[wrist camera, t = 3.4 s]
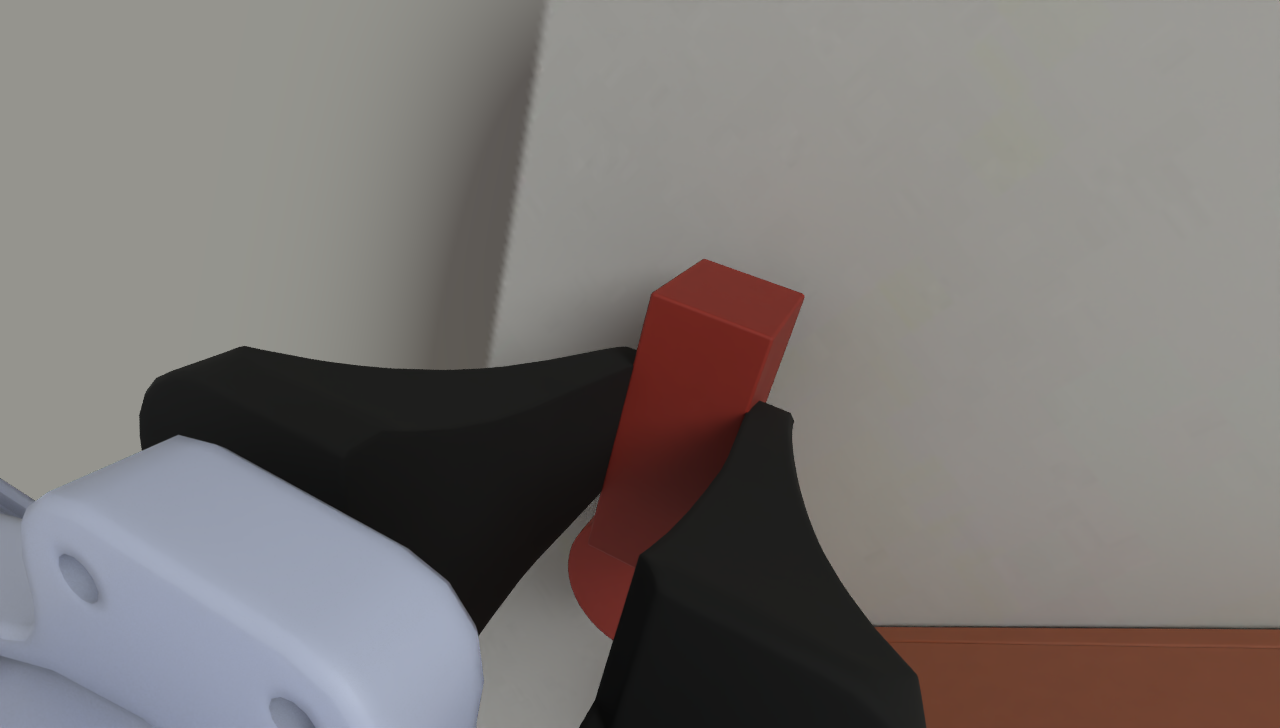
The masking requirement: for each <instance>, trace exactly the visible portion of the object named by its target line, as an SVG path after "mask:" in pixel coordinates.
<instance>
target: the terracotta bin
mask: <svg viewBox="0 0 1280 728" xmlns="http://www.w3.org/2000/svg"><path fill="white" fill-rule="evenodd" d="M874 628H875V629H876V630H877V631H878V632H879V633H880V634H881V635H882V636H883V638H884V639H885V640H886V641H887V642H888V643H889V644H890V645H891V646H892V647H893V649H894V650H895V651H896V652H897V653H898V654H899V655H900V656H901V657H902V658H903V660H904V661H905V662H906V663H907V664H908V665H909V666H910V667H911V668H912V669H913V671H914V672H915V673H916V674H917V676H918V679H919V684H920V689H921V695H922V702H923V708H924V715H925V722H926V728H1280V629H1170V628H1006V627H874Z"/></svg>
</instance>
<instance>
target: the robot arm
mask: <svg viewBox="0 0 1280 728" xmlns="http://www.w3.org/2000/svg"><path fill="white" fill-rule="evenodd" d="M636 352H637V350H634V349H632V348H629V347H616V348H609V349H604V350H598V351H593V352H588V353H583V354H578V355H573V356H567V357H562V358H557V359H552V360H546V361H539V362H532V363H525V364H518V365H511V366H504V367H494V368H482V369H463V370H423V369H391V368H379V367H368V366H358V365H350V364H342V363H334V362H326V361H320V360H314V359H308V358H303V357H297V356H292V355H286V354H282V353H276V352H271V351H266V350H260V349H256V348H251V347H247V346H243V347H238V348H235V349H233V350H230V351H227V352H225V353H222V354H219V355H216V356H213V357H210V358H208V359H205V360H202V361H199V362H196V363H194V364H191V365H188V366H185V367H182V368H179V369H176V370H173V371H171V372H169V373H166V374H164V375H162V376H160V377H158V378H156V379H155V380H154V382H153V383H152V384H151V386H150V387H149V388H148V389H147V391H146V393H145V396H144V400H143V404H142V407H141V411H140V415H139V416H140V417H139V418H140V440H141V448H142V451H140V452H138V453H136V454H133V455H131V456H129V457H127V458H124V459H122V460H120V461H118V462H115V463H113V464H111V465H108V466H106V467H104V468H101V469H99V470H97V471H95V472H92V473H90V474H88V475H86V476H83V477H81V478H79V479H77V480H74V481H72V482H70V483H67V484H65V485H63V486H61V487H58V488H56V489H54V490H51V491H49V492H47V493H46V494H44V495H43V496H42V497H40V498H39V499H38V500H36V501H35V500H33V499H32V498H30V497H29V496H27V495H26V494H24V493H22V492H21V491H19V490H18V489H16V488H15V487H13V486H12V485H10V484H8V483H7V482H5V481H4V480H2V479H1V478H0V728H476V721H477V716H478V711H479V705H480V700H481V694H482V689H483V684H484V677H483V669H482V661H481V653H480V646H479V638H478V636H479V634H480V633H481V632H482V630H483V629H484V627H485V626H486V625H487V623H488V622H489V620H490V619H491V618H492V616H493V615H494V614H495V612H496V611H497V610H498V608H499V607H500V606H501V604H502V603H503V602H504V600H505V599H506V598H507V596H508V595H509V594H510V592H511V591H512V590H513V588H514V587H515V586H516V584H517V583H518V582H519V580H520V579H521V578H522V577H523V575H524V574H525V573H526V572H527V571H528V570H529V568H530V567H531V566H532V565H533V564H534V563H535V562H536V560H537V559H538V558H539V557H540V556H541V555H542V554H543V553H544V552H545V551H546V550H547V549H548V548H549V547H550V546H551V545H552V544H553V542H554V541H555V540H556V539H557V538H558V537H559V536H560V535H561V534H562V533H563V532H564V531H565V530H566V529H567V528H568V527H569V526H570V525H571V523H572V522H573V521H574V520H575V519H576V518H577V517H578V516H579V515H580V514H581V513H582V512H583V511H584V510H585V509H586V508H587V506H588V505H589V504H590V503H591V502H592V501H593V500H594V499H595V498H596V497H597V496H598V495H599V494H600V492H601V491H602V488H603V484H604V480H605V476H606V472H607V468H608V464H609V460H610V457H611V453H612V449H613V445H614V441H615V437H616V433H617V429H618V425H619V421H620V417H621V414H622V410H623V406H624V402H625V398H626V394H627V390H628V386H629V382H630V378H631V375H632V371H633V367H634V366H633V364H634V360H635V356H636ZM793 423H794V420H793V418H792V415H791V413H789V412H787V411H784V410H782V409H779V408H777V407H774V406H772V405H769V404H767V403H765V402H762V401H758V402H757V403H756V404H755V405H754V406H753V407H752V408H751V410H750V411H749V412H746V414H745V416H744V419H743V421H742V424H741V426H740V428H739V431H738V433H737V436H736V438H735V441H734V443H733V445H732V448H731V450H730V453H729V455H728V457H727V459H726V461H725V463H724V465H723V467H722V469H721V470H720V472H719V473H718V474H717V476H716V477H715V478H714V480H713V481H712V482H711V484H710V485H709V486H708V488H707V489H706V490H705V492H704V493H703V494H702V495H701V496H700V498H699V499H698V500H697V501H696V502H695V504H694V505H693V506H692V507H691V509H690V510H689V511H688V512H687V513H686V514H685V515H684V516H683V517H682V518H681V519H680V520H679V521H678V522H677V523H676V524H675V526H674V527H673V528H672V529H671V530H670V531H669V532H667V533H666V534H665V535H664V536H663V537H661V538H660V539H659V540H658V541H657V542H656V543H654V544H653V545H652V546H651V547H650V548H648V549H647V550H645V551H644V552H643V553H641V554H640V555H639V558H638V561H637V564H636V568H635V571H634V574H633V577H632V581H631V584H630V587H629V590H628V594H627V597H626V600H625V604H624V607H623V610H622V613H621V617H620V620H619V623H618V627H617V630H616V633H615V636H614V640H613V643H612V646H611V650H610V653H609V656H608V659H607V663H606V666H605V669H604V673H603V676H602V679H601V682H600V686H599V689H598V692H597V695H596V699H595V701H594V703H593V704H592V706H591V708H590V710H589V711H588V713H587V715H586V716H585V718H584V720H583V722H582V723H581V725H580V727H579V728H926V722H925V715H924V708H923V702H922V695H921V689H920V684H919V679H918V676H917V674H916V673H915V672H914V671H913V669H912V668H911V667H910V666H909V665H908V664H907V663H906V662H905V661H904V660H903V658H902V657H901V656H900V655H899V654H898V653H897V652H896V651H895V650H894V649H893V647H892V646H891V645H890V644H889V643H888V642H887V641H886V640H885V639H884V638H883V636H882V635H881V634H880V633H879V632H878V631H877V630H876V629H875V628H874V626H873V625H872V624H871V623H870V621H869V620H868V619H867V617H866V616H865V615H864V613H863V612H862V611H861V609H860V608H859V607H858V605H857V604H856V603H855V601H854V600H853V599H852V597H851V596H850V595H849V593H848V592H847V590H846V589H845V587H844V586H843V584H842V583H841V581H840V580H839V578H838V576H837V575H836V573H835V571H834V569H833V568H832V566H831V564H830V563H829V561H828V559H827V558H826V556H825V554H824V552H823V550H822V548H821V546H820V544H819V542H818V539H817V537H816V535H815V532H814V530H813V528H812V525H811V522H810V520H809V517H808V514H807V511H806V508H805V505H804V501H803V498H802V494H801V491H800V487H799V483H798V478H797V473H796V467H795V462H794V455H793V444H792V428H793Z"/></svg>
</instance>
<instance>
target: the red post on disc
mask: <svg viewBox="0 0 1280 728" xmlns="http://www.w3.org/2000/svg"><path fill="white" fill-rule="evenodd" d="M803 300H804V295H803V294H802V293H799V292H796V291H794V290H791V289H788V288H785V287H782V286H779V285H777V284H774V283H771V282H768V281H765V280H763V279H760V278H757V277H754V276H751V275H749V274H746V273H743V272H740V271H737V270H734V269H732V268H729V267H726V266H723V265H720V264H718V263H715V262H712V261H709V260H706V259H703V260H701V261H700V262H698V263H696V264H695V265H693V266H692V267H690V268H689V269H687V270H686V271H684V272H683V273H681V274H680V275H678V276H677V277H675V278H674V279H672V280H671V281H669V282H668V283H666V284H665V285H663V286H662V287H660V288H659V289H657V290H656V291H654V292H653V293H652V294H651V297H650V301H649V305H648V309H647V313H646V317H645V320H644V324H643V328H642V332H641V336H640V340H639V344H638V348H637V352H636V356H635V360H634V364H633V366H634V367H633V371H632V375H631V378H630V382H629V386H628V390H627V394H626V398H625V402H624V406H623V410H622V414H621V417H620V421H619V425H618V429H617V433H616V437H615V441H614V445H613V449H612V453H611V457H610V460H609V464H608V468H607V472H606V476H605V480H604V484H603V488H602V491H601V493H600V497H599V501H598V505H597V509H596V513H595V515H594V516H593V518H592V519H591V520H590V521H589V522H588V524H587V525H586V526H585V527H584V528H583V529H582V531H581V532H580V533H579V534H578V536H577V537H576V539H575V540H574V542H573V544H572V547H571V550H570V554H569V560H568V572H569V579H570V583H571V587H572V590H573V592H574V595H575V597H576V599H577V601H578V603H579V605H580V606H581V608H582V609H583V611H584V613H585V614H586V615H587V616H588V618H589V619H590V620H591V621H592V622H593V623H594V624H595V626H596V627H597V628H598V629H599V630H601V631H602V632H603V633H604V634H605V635H606V636H608V637H609V638H611V639H612V640H614V636H615V633H616V630H617V627H618V623H619V620H620V617H621V613H622V610H623V607H624V604H625V600H626V597H627V594H628V590H629V587H630V584H631V581H632V577H633V574H634V571H635V568H636V564H637V561H638V558H639V555H640V554H641V553H643V552H644V551H645V550H647V549H648V548H650V547H651V546H652V545H653V544H654V543H656V542H657V541H658V540H659V539H660V538H661V537H663V536H664V535H665V534H666V533H667V532H669V531H670V530H671V529H672V528H673V527H674V526H675V524H676V523H677V522H678V521H679V520H680V519H681V518H682V517H683V516H684V515H685V514H686V513H687V512H688V511H689V510H690V509H691V507H692V506H693V505H694V504H695V502H696V501H697V500H698V499H699V498H700V496H701V495H702V494H703V493H704V492H705V490H706V489H707V488H708V486H709V485H710V484H711V482H712V481H713V480H714V478H715V477H716V476H717V474H718V473H719V472H720V470H721V469H722V467H723V465H724V463H725V461H726V459H727V457H728V455H729V453H730V450H731V448H732V445H733V443H734V441H735V438H736V436H737V433H738V431H739V428H740V426H741V424H742V421H743V419H744V416H745V414H746V412H749V411H750V410H751V408H752V407H753V406H754V405H755V404H756V403H757V402H758V401H762V402H765V403H766V401H767V398H768V395H769V393H770V390H771V387H772V385H773V382H774V379H775V376H776V374H777V371H778V368H779V365H780V363H781V360H782V357H783V355H784V352H785V349H786V346H787V344H788V341H789V338H790V336H791V333H792V330H793V327H794V325H795V322H796V319H797V317H798V314H799V311H800V308H801V306H802V303H803Z"/></svg>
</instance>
